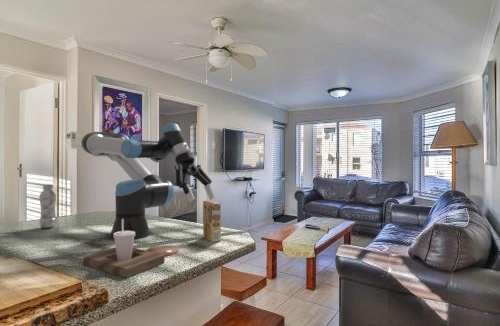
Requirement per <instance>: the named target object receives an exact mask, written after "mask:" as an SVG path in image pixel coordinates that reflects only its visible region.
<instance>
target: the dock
mask: <svg viewBox="0 0 500 326" xmlns="http://www.w3.org/2000/svg"><path fill="white" fill-rule="evenodd" d="M82 259H83V260H82V261H83V263H82V264H84V265H83V266H86V265H87V267H89V266H90V267H89V268H92V267H93V269H96V270H99V271H101V272H106V273H109V274H111V275H112V274H113V275H115V276H119V277H123V278H126V279H128V278H131V277H133V276H135V275H137V274H140V273H143V272H145V271H148V270H151V269H153V268H155V267H158V266H160V265H163V264H165V256H164V255H162V254H158V253H153V252H149V251H146V250H144V249H139V248H136V247H133V250H132V257H131V259H129V260H126V261H123V262H120V261H117V254H116V246H114V247H112V248H108V249H105V250H102V251H99V252H95V253H94V252H93V253H92V254H88V255H84V256H83V258H82Z"/></svg>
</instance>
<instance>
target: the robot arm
mask: <svg viewBox="0 0 500 326" xmlns="http://www.w3.org/2000/svg"><path fill="white" fill-rule="evenodd" d="M179 126H180V125H178V124H177V123H173V122H171V123H167V124H165V125H164V126H163V127H162V134H163V136H162V137H160V139H159V140H157V141H156V140H141V139H133V138H132V139H131V138H129V136H128V135H126V134H124V133H120V132H115V133H114V132H104V131H92V132H91V131H90V132H88V133H86V134H85V135H84V136H83V137H82V138H81V141H80V142H81V147H82V149H83V151H85V152H86V153H87V154H90V155H95V156H107V157H108V158H109V159H110V160H111V161H112V162H116V163H117V164H118V165H119V166H120V168H122V169H123V171H124V172H125V174H127V175H128V177H129V178H130V179H128V180H123V181H120V182H118V183H117V184H116V186H115V194H114V195H115V219H114V222H113V225H112V229H111V230H110V238H111V239H113V240H115V238H113V234H114V233H116V232H119V231H122V219H124V231H134V232H135V236H134V240H137V239H142V238H145V237H147V236H149V235H150V226H149V225H148V222H147V221H148V220H147V218H146V209H149V208H150V209H151V208H159V207H163V206H167V205H169V204H171V202H172V201H173V199H174V195H175V192H174V191H175V188H174V185H173V183H172V182H171V181H170V180H166V179H164V180H163V179H162V178H161V177H160V176H159V175H158V174H155V173H151V171H150V170H149V169H148V168H147V167H146V165H144V164H143V162H142V161H141V160H140V159H150V160H151V161H153V162H155V163H161V162H163V161H164V160H166V158H167V157H168V156H169V155H170V154H172V157H173V159H174V161H175V163H176V165H175V166H174V169H175V185H176V186H177V187H178V188H179V189H182V191H183V192H184V193H183V194H185V196H186V199H187V201H188V203H191V202H193V201H195V200H196V198H195V195H194V193H193V191H192V189H191V187H190V185H189V183H188V178H189V176H190V177H191V176H192V178H196V179H197V180H198V181H199V182H200V184H202V185H203V188H204V191H205V192H206V195H207V197H208V198H209V201H213V200H214V199H215V198H216V195H215V193H214V191H213V188H212V187H211V184H212V182H213V181H212V180H211V178H210V177H209V176H208V174H207V173H206V172H205V171H204V170H203V169H202V167H201V165H200V164H197V165H195V158H194V155H193V153H192V152H191V150H190V146H189V144H188V143H187V141H186V138H185V136H184V134H183V132H182V130H181V127H179Z"/></svg>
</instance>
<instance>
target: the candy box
mask: <svg viewBox="0 0 500 326" xmlns="http://www.w3.org/2000/svg"><path fill="white" fill-rule="evenodd" d="M221 205H222V203H221V202H218V201H214V200H203V201H202V211H203V212H202V229H203V230H202V233H203V235H202V236H203V238H204V239H206V240H207V241H210V242H211V243H216V242H221V241H222V240H221V239H222V236H221V234H222V231H221V230H222V228H221V227H222V225H221V222H222V218H221V216H222V215H221V208H222V207H221Z"/></svg>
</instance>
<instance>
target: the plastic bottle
mask: <svg viewBox="0 0 500 326" xmlns="http://www.w3.org/2000/svg"><path fill="white" fill-rule="evenodd" d="M53 186H54V184H43V186H42V189H43V190H42V191H41V192H40V194H39V196H38V198H39V199H38V200H39V203H40V217H39V218H40V219H39V227H40V228H42V229H51V228H55V227H56V226H57V223H58V222H57V221H58V220H57V216H56V201H57V194H56V192H55V191H54V187H53Z"/></svg>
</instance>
